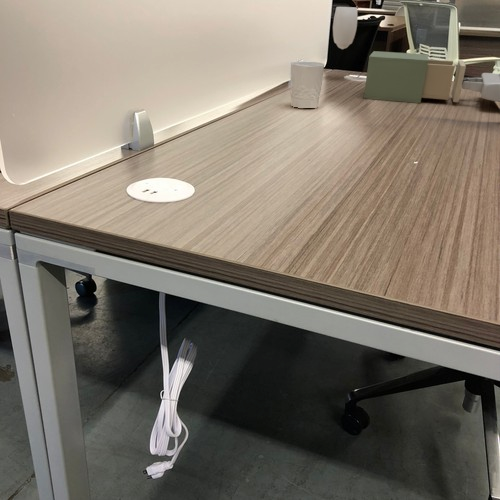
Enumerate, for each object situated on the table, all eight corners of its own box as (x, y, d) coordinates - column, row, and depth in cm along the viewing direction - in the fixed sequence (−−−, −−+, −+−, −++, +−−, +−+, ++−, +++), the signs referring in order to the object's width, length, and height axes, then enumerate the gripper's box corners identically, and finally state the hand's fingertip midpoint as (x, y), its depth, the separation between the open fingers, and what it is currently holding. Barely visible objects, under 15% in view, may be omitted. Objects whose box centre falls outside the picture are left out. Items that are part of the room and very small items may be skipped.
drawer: (460, 94, 138) (467, 60, 134) (463, 102, 129) (471, 66, 125) (405, 90, 142) (410, 57, 138) (403, 97, 132) (409, 62, 128)
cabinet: (420, 94, 142) (428, 54, 137) (420, 103, 131) (428, 60, 126) (368, 90, 146) (373, 51, 141) (363, 98, 135) (369, 56, 130)
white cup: (283, 103, 126) (285, 61, 121) (311, 102, 128) (314, 60, 124) (296, 110, 119) (299, 66, 115) (326, 109, 122) (330, 65, 117)
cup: (326, 80, 159) (333, 7, 149) (329, 76, 165) (335, 6, 156) (349, 81, 158) (358, 8, 148) (351, 78, 164) (359, 7, 154)
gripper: (520, 69, 135) (465, 65, 139) (528, 80, 118) (465, 75, 122) (513, 93, 138) (459, 89, 142) (520, 108, 121) (459, 102, 125)
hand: (462, 83), depth 132 cm, fingers open, 4 cm apart
